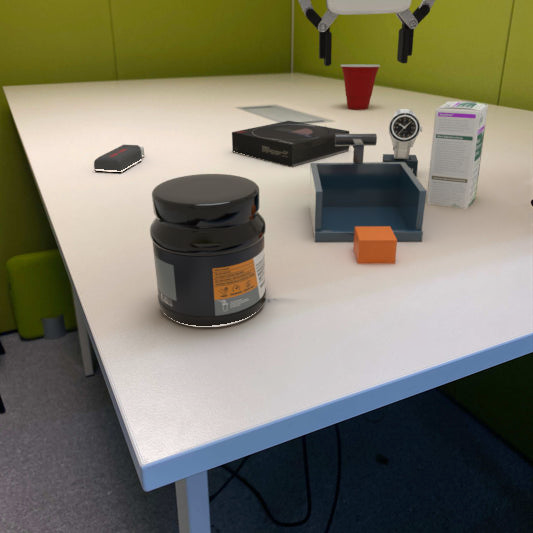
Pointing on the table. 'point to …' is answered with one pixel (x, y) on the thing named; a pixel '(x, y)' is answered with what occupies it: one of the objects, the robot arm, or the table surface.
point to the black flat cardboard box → (288, 142)
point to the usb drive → (119, 158)
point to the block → (374, 244)
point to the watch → (403, 138)
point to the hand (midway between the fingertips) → (364, 63)
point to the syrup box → (456, 153)
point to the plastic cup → (359, 84)
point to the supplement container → (208, 248)
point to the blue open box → (364, 195)
